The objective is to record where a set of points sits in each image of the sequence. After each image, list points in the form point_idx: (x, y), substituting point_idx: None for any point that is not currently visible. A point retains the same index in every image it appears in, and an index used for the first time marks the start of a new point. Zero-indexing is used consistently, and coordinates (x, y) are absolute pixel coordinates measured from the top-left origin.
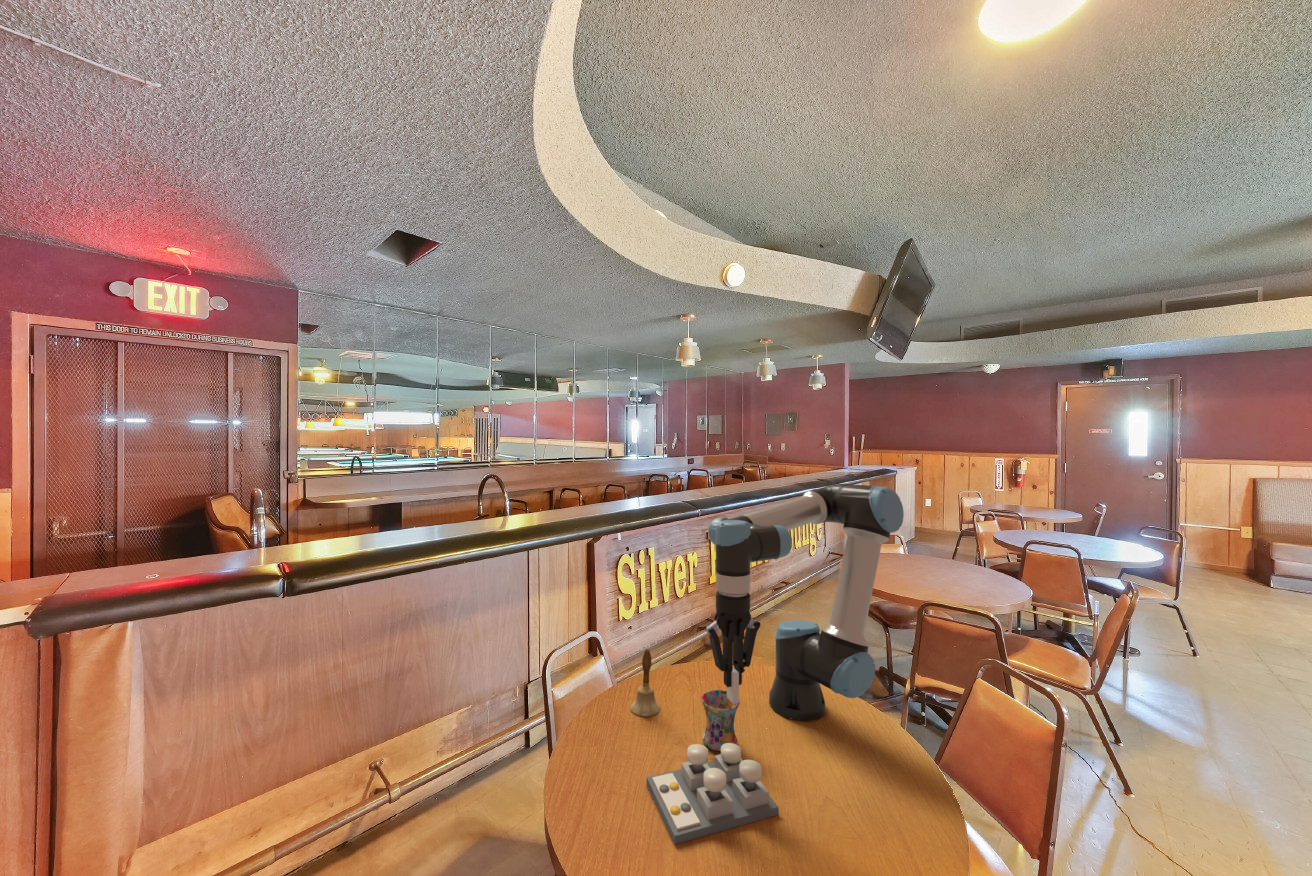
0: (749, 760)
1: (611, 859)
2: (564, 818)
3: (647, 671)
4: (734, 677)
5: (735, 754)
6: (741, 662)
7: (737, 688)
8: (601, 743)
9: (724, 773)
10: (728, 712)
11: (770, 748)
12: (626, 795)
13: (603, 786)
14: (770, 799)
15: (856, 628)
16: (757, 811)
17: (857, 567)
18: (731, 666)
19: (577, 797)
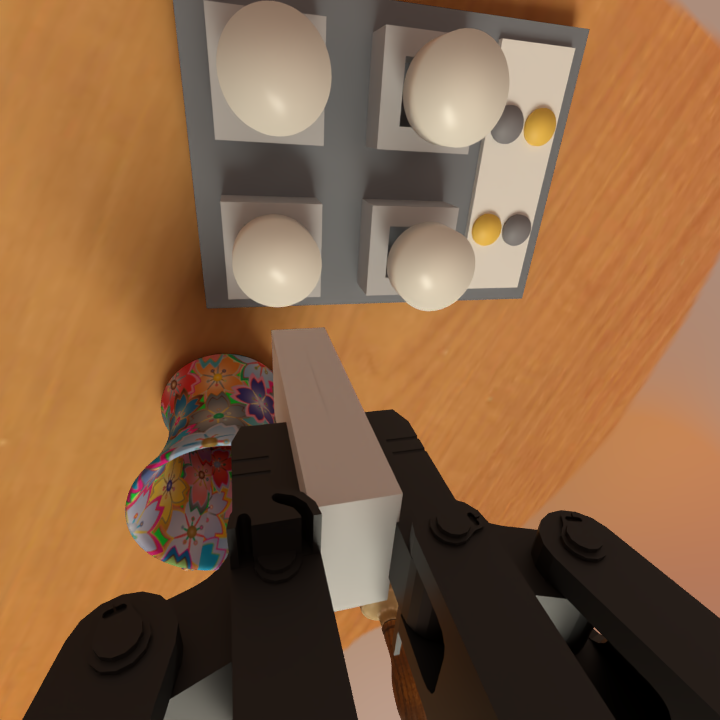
0: (255, 122)
1: (715, 66)
2: (711, 242)
3: (404, 659)
4: (362, 457)
5: (276, 227)
6: (273, 661)
7: (299, 387)
8: (525, 451)
9: (418, 84)
10: (219, 433)
11: (34, 338)
12: (571, 268)
13: (597, 314)
14: (185, 30)
15: None
16: None
17: None
18: (455, 577)
19: (658, 297)
